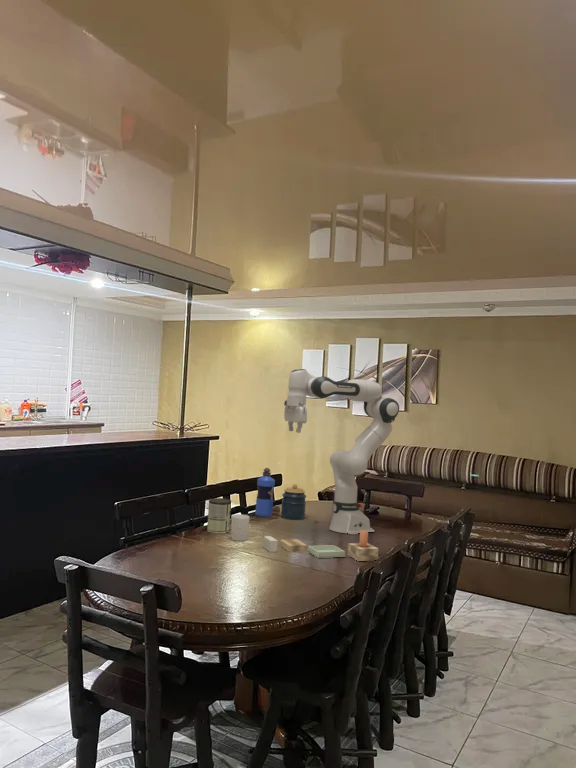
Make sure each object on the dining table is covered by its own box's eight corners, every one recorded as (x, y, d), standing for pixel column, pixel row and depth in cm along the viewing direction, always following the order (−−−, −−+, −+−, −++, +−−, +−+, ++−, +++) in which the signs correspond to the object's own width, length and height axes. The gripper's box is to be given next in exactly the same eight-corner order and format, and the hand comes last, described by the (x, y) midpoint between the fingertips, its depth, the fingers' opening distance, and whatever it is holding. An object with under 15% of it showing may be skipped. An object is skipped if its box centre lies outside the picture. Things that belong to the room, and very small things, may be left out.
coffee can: (204, 528, 269) (207, 497, 269) (226, 528, 272) (228, 498, 272) (208, 533, 259) (211, 502, 259) (231, 533, 262) (233, 502, 263)
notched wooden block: (297, 546, 249) (297, 539, 249) (306, 552, 240) (307, 545, 240) (279, 546, 246) (280, 539, 246) (288, 553, 237) (289, 545, 237)
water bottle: (274, 514, 313) (277, 468, 314) (269, 517, 304) (272, 469, 305) (258, 512, 316) (261, 466, 317) (252, 515, 307) (256, 468, 308)
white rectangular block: (269, 546, 243) (270, 536, 243) (276, 551, 236) (277, 540, 236) (263, 546, 242) (263, 536, 242) (269, 552, 235) (270, 540, 235)
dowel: (363, 557, 237) (365, 530, 238) (367, 559, 234) (369, 532, 235) (356, 557, 236) (358, 530, 236) (360, 559, 233) (362, 532, 233)
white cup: (251, 539, 254) (252, 516, 255) (242, 542, 247) (244, 518, 248) (235, 536, 258) (237, 513, 258) (226, 539, 251) (228, 516, 251)
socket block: (366, 554, 241) (367, 542, 241) (377, 561, 233) (378, 548, 233) (347, 555, 238) (348, 543, 238) (358, 561, 229) (359, 549, 229)
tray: (333, 551, 243) (333, 545, 244) (344, 557, 234) (345, 551, 234) (307, 552, 239) (308, 545, 239) (318, 558, 230) (318, 552, 230)
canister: (282, 514, 316) (284, 481, 317) (306, 516, 315) (308, 483, 315) (278, 518, 304) (281, 484, 304) (303, 521, 302) (305, 487, 302)
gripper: (311, 403, 267) (309, 433, 266) (294, 402, 286) (292, 430, 285) (298, 402, 264) (296, 433, 264) (282, 401, 284) (280, 430, 283)
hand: (294, 431), depth 275 cm, fingers open, 8 cm apart
